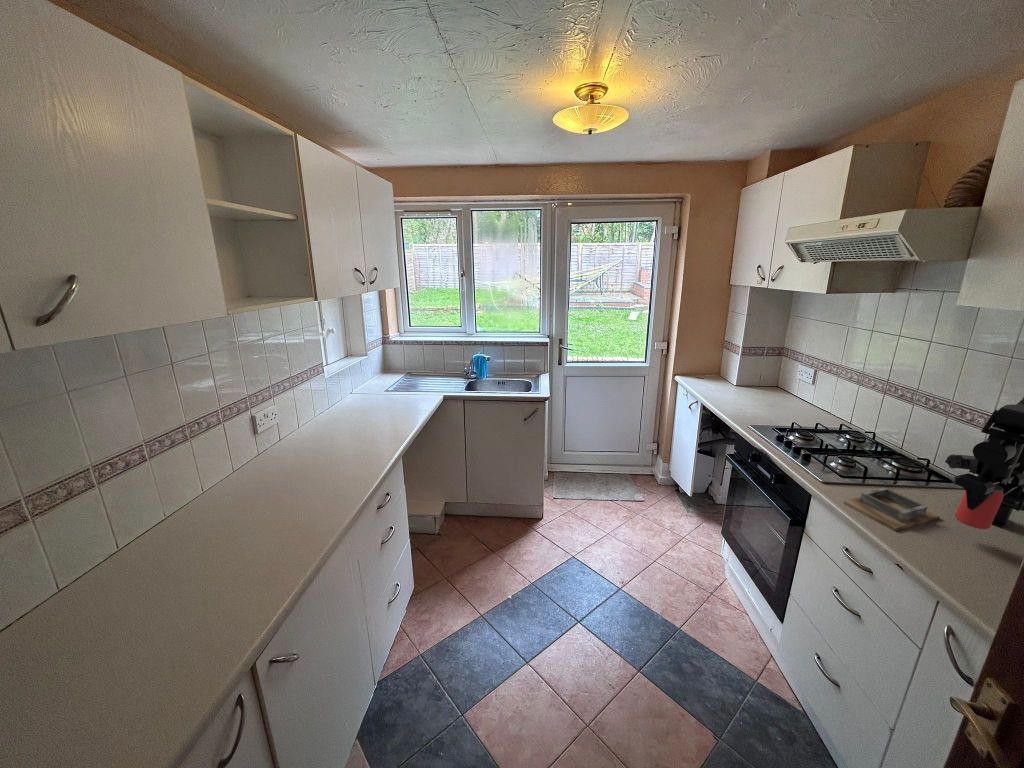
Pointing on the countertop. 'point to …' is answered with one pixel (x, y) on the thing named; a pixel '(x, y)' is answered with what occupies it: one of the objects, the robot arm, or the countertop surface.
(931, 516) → the can holder
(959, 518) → the beer can
